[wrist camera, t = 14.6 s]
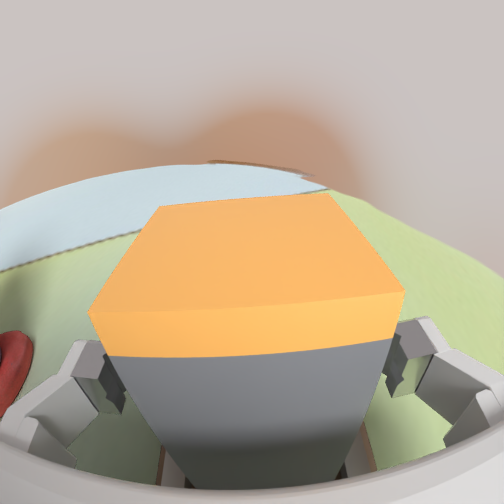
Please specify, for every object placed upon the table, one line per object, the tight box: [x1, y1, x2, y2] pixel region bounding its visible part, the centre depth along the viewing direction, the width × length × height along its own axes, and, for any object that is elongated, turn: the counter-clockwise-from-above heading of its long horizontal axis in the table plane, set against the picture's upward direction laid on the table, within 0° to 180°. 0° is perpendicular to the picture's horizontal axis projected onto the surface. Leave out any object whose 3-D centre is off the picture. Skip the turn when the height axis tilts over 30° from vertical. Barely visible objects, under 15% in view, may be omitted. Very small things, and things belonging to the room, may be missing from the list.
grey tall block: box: [88, 193, 405, 490], centre depth 9 cm, size 5×5×11 cm
